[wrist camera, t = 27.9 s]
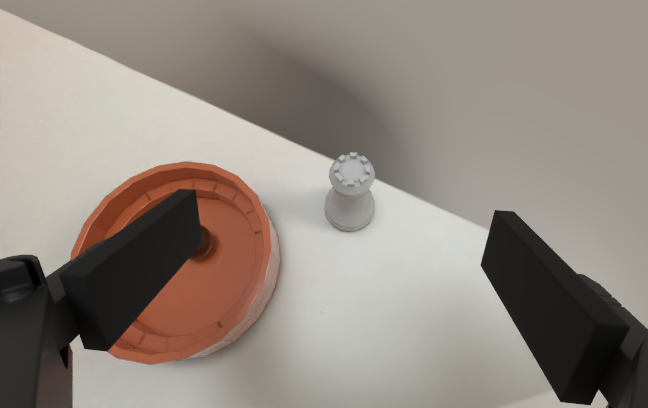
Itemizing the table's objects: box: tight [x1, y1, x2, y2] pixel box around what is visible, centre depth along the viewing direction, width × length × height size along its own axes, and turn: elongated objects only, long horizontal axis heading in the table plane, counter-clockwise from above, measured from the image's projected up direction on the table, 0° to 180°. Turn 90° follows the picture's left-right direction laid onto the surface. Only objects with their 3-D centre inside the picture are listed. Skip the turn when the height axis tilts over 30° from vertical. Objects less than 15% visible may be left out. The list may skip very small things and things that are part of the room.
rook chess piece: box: [325, 152, 375, 231], centre depth 27 cm, size 4×4×8 cm
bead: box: [189, 224, 213, 260], centre depth 28 cm, size 3×3×3 cm
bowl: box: [70, 162, 280, 365], centre depth 27 cm, size 15×15×4 cm
